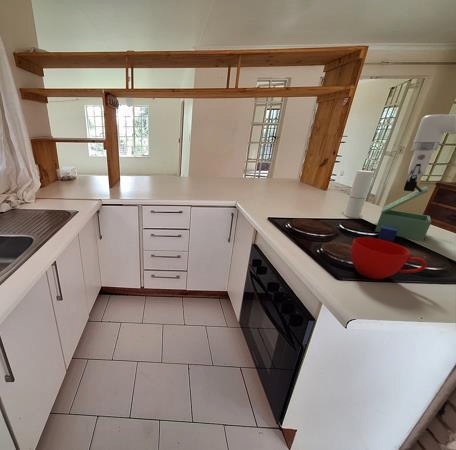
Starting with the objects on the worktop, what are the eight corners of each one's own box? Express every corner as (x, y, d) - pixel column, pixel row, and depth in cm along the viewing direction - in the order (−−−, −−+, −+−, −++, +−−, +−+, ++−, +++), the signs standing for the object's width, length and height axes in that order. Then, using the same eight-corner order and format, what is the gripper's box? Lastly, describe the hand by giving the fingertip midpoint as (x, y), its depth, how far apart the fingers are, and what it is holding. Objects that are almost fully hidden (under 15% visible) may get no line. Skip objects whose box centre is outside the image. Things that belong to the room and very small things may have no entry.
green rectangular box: (421, 233, 109) (429, 215, 106) (422, 241, 101) (431, 222, 97) (377, 225, 119) (383, 208, 116) (374, 231, 111) (381, 213, 108)
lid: (427, 187, 104) (417, 178, 106) (428, 191, 96) (418, 181, 97) (384, 208, 116) (376, 199, 117) (382, 213, 108) (373, 204, 109)
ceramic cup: (417, 297, 65) (433, 265, 61) (342, 273, 75) (351, 245, 72) (414, 278, 73) (427, 249, 70) (347, 259, 84) (355, 233, 81)
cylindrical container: (358, 215, 135) (373, 170, 126) (360, 218, 129) (375, 172, 120) (342, 213, 138) (356, 169, 129) (344, 216, 132) (358, 171, 124)
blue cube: (393, 238, 103) (397, 228, 101) (393, 241, 100) (397, 231, 98) (378, 235, 106) (382, 225, 105) (377, 238, 103) (381, 227, 101)
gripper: (439, 147, 90) (421, 194, 96) (436, 146, 101) (420, 188, 107) (411, 147, 95) (396, 191, 101) (411, 146, 106) (397, 186, 112)
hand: (408, 189), depth 104 cm, fingers closed on lid, 5 cm apart
